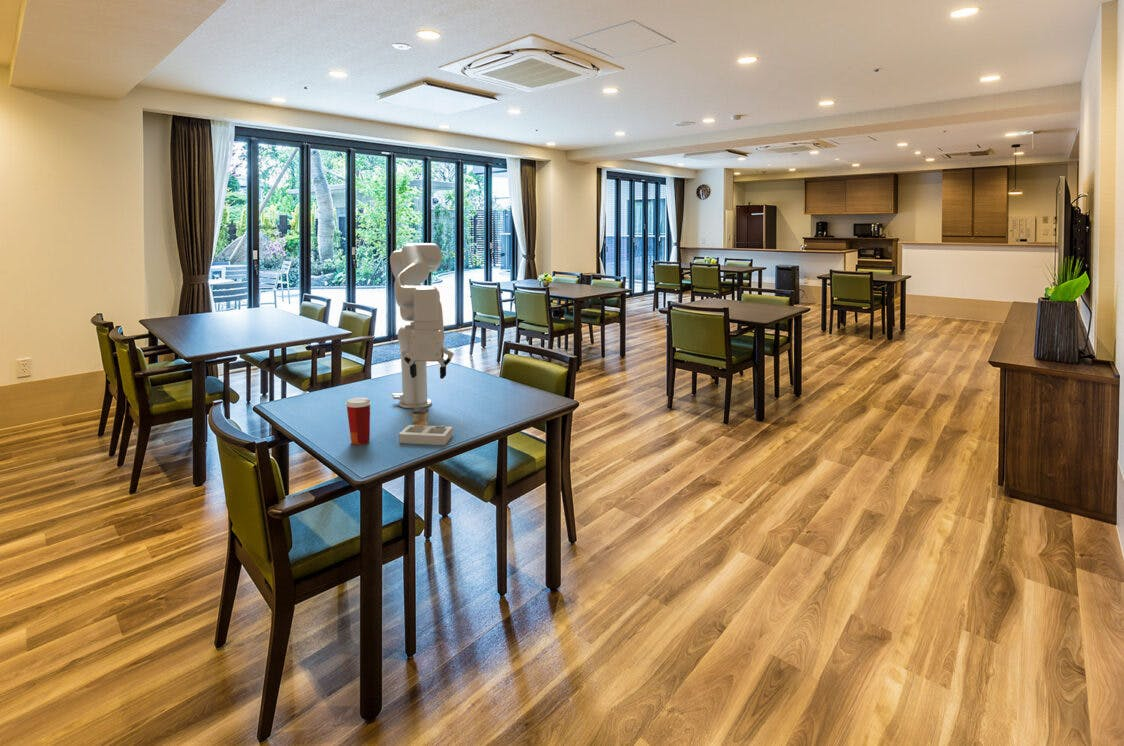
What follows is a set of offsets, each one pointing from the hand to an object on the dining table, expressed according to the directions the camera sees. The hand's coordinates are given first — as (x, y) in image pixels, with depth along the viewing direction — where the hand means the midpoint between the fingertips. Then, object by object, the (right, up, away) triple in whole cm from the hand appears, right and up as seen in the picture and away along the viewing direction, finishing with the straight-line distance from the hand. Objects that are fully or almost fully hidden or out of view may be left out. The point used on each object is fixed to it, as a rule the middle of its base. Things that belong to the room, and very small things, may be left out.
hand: (428, 377), depth 203 cm
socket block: (0, -20, -1) cm, 20 cm away
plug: (-4, -18, +9) cm, 21 cm away
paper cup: (-21, -21, -5) cm, 30 cm away
